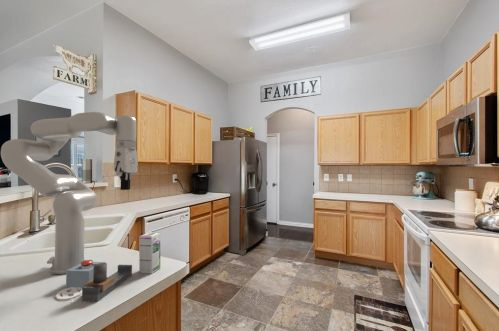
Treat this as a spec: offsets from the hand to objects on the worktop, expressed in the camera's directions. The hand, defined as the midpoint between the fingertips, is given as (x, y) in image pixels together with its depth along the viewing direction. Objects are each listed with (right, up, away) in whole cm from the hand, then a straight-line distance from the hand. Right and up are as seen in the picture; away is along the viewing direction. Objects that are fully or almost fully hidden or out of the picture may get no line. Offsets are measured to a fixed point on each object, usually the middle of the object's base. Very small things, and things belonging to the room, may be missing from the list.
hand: (125, 189), depth 96 cm
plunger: (-6, -28, -15) cm, 32 cm away
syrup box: (+12, -32, -4) cm, 35 cm away
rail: (+4, -32, -17) cm, 36 cm away
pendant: (-5, -32, -23) cm, 39 cm away
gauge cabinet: (-6, -32, -15) cm, 35 cm away
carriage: (+4, -29, -22) cm, 37 cm away
